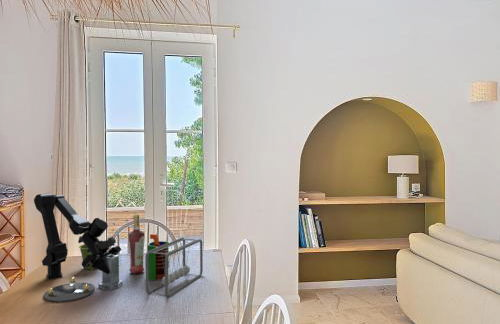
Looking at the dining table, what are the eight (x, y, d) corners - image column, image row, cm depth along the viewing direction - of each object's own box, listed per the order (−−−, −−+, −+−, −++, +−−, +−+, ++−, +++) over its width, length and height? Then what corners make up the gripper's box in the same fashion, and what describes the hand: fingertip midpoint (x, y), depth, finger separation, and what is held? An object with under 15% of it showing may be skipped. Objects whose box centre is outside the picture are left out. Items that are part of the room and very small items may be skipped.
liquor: (138, 275, 177) (138, 216, 176) (125, 274, 179) (125, 215, 179) (147, 271, 184) (147, 214, 183) (135, 269, 186) (134, 213, 186)
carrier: (43, 289, 159) (43, 280, 159) (92, 282, 169) (91, 273, 169) (44, 305, 143) (44, 295, 143) (97, 296, 152) (97, 286, 152)
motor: (161, 281, 170) (161, 237, 169) (143, 279, 172) (143, 236, 171) (170, 274, 180) (170, 232, 179) (153, 272, 181) (153, 231, 181)
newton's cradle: (183, 273, 181) (183, 236, 181) (203, 275, 178) (202, 238, 177) (145, 295, 154) (144, 252, 153) (167, 298, 150) (166, 254, 149)
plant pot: (109, 266, 191) (109, 244, 191) (88, 272, 181) (88, 249, 181) (95, 262, 198) (94, 241, 197) (74, 268, 188) (73, 246, 187)
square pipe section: (95, 288, 161) (94, 258, 161) (110, 281, 169) (109, 252, 169) (111, 291, 158) (111, 260, 157) (126, 284, 166) (125, 254, 166)
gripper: (86, 236, 156) (107, 266, 152) (117, 228, 173) (137, 254, 169) (72, 253, 159) (92, 282, 155) (104, 243, 176) (123, 269, 172)
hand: (113, 271), depth 163 cm, fingers closed on square pipe section, 5 cm apart
